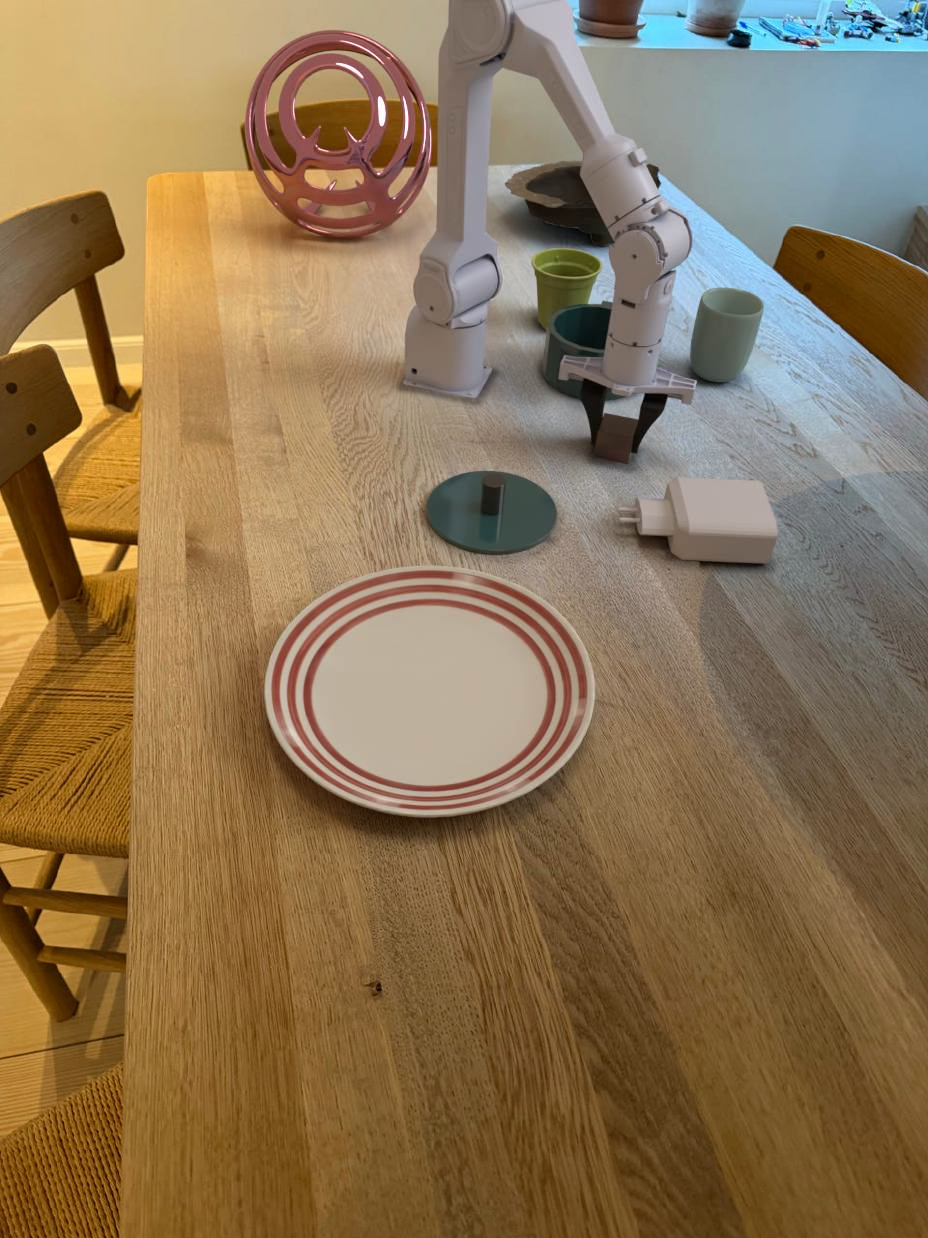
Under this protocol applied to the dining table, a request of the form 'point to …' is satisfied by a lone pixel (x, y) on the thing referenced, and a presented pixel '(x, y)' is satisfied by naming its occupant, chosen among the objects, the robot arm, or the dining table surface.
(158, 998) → the dining table surface
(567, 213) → the stone bowl
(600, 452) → the block
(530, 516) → the lid
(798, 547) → the dining table surface
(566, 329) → the pot
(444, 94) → the robot arm
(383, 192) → the pink openwork sphere
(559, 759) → the dinner plate
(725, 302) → the cup
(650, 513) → the charger
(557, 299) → the plant pot
